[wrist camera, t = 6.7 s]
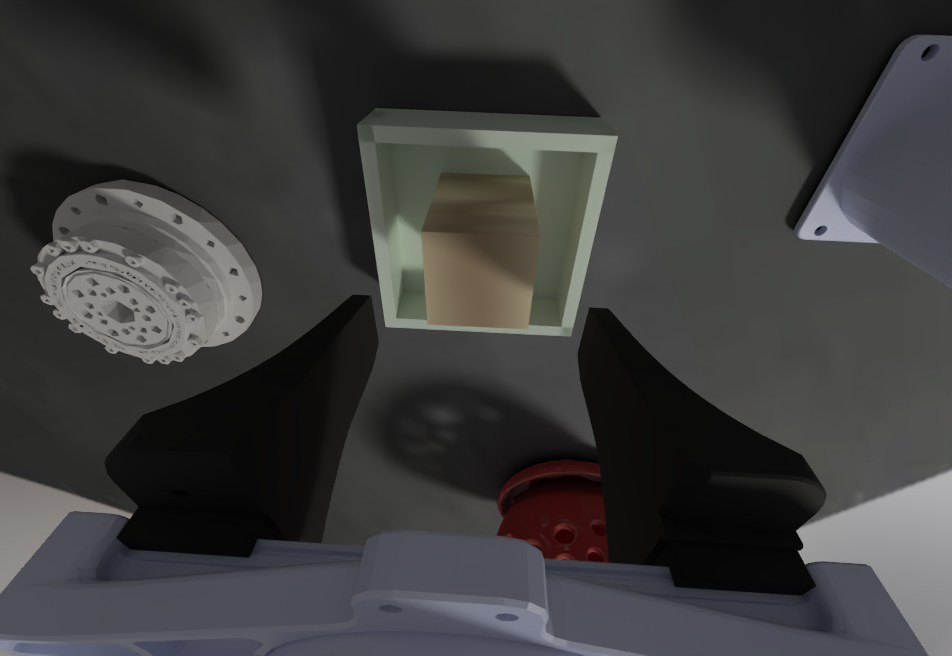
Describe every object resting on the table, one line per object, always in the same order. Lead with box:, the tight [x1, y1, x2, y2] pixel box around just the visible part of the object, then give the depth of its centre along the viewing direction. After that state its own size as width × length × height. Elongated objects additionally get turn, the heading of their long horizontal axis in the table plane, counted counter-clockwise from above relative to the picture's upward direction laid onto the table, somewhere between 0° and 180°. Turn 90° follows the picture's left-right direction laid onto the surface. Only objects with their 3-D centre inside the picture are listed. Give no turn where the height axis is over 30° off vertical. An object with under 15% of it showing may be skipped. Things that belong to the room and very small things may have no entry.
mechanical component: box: [31, 180, 262, 364], centre depth 21 cm, size 10×4×10 cm
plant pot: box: [497, 459, 609, 563], centre depth 31 cm, size 13×13×12 cm
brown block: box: [421, 173, 540, 329], centre depth 17 cm, size 4×4×6 cm
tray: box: [357, 108, 618, 336], centre depth 19 cm, size 10×10×3 cm
